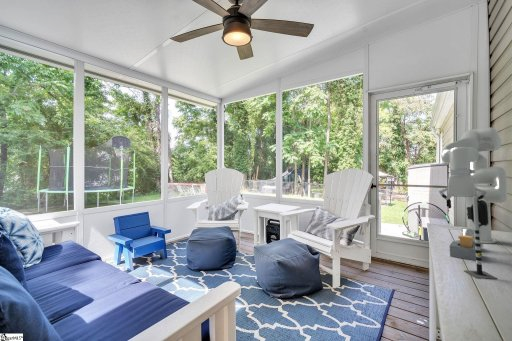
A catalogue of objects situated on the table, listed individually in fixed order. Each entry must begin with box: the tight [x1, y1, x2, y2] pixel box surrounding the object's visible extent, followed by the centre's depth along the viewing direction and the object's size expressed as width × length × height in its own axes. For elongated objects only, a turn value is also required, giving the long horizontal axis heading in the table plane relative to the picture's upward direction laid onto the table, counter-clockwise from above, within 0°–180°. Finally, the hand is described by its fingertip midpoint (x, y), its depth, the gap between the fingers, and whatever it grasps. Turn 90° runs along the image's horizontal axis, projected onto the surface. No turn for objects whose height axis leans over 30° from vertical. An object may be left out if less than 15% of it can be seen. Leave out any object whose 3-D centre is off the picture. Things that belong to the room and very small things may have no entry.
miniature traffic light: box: [463, 197, 498, 280], centre depth 93 cm, size 8×8×30 cm
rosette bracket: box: [449, 227, 484, 261], centre depth 119 cm, size 26×11×10 cm, turn 134°
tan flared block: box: [458, 234, 473, 247], centre depth 114 cm, size 4×5×9 cm
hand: (462, 208), depth 115 cm, fingers open, 9 cm apart
